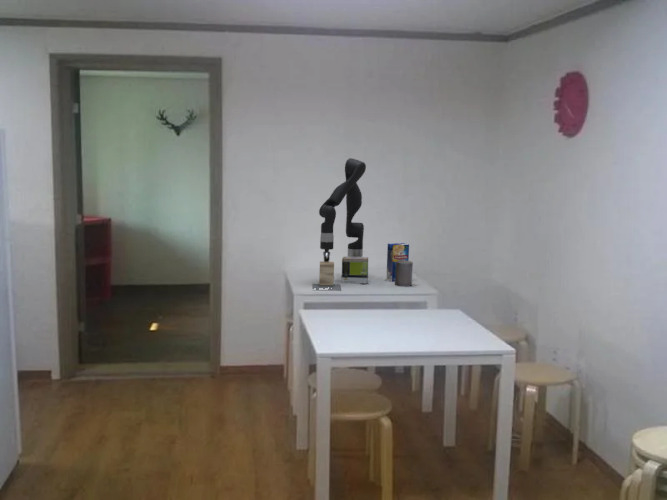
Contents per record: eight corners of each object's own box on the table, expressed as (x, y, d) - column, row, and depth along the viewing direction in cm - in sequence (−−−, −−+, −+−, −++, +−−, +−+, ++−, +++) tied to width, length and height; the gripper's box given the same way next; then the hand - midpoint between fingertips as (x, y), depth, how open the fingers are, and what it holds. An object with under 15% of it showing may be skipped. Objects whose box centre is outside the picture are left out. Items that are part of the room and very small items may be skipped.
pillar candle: (392, 283, 423) (393, 258, 420) (407, 282, 426) (408, 257, 424) (399, 286, 414) (400, 261, 411) (414, 286, 417) (415, 260, 415)
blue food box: (407, 280, 434) (409, 244, 431) (392, 281, 429) (393, 245, 426) (401, 278, 440) (403, 243, 437) (386, 279, 435) (387, 243, 432)
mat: (312, 284, 415) (312, 283, 415) (340, 284, 415) (340, 284, 415) (312, 290, 395) (312, 290, 395) (341, 291, 396) (341, 290, 396)
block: (319, 282, 413) (319, 261, 410) (333, 283, 414) (333, 261, 410) (319, 285, 409) (319, 264, 405) (333, 286, 409) (334, 264, 405)
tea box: (368, 281, 429) (368, 256, 427) (367, 284, 419) (367, 259, 417) (342, 280, 430) (343, 255, 428) (341, 283, 420) (341, 258, 418)
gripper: (320, 239, 419) (319, 269, 421) (320, 241, 406) (319, 272, 408) (333, 239, 419) (332, 269, 421) (333, 242, 406) (333, 272, 408)
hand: (326, 270), depth 414 cm, fingers closed
